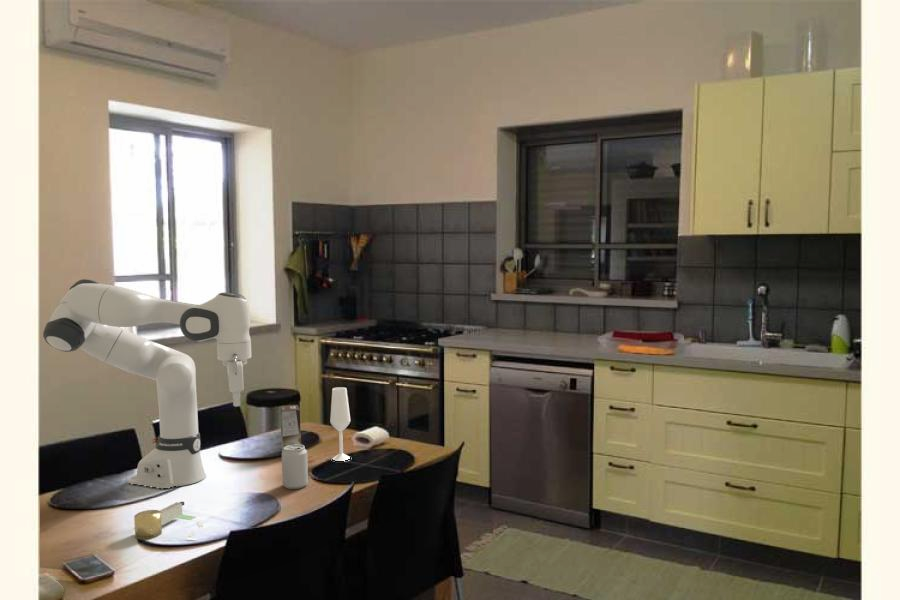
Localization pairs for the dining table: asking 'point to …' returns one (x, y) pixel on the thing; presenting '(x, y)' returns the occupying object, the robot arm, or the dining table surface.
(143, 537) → the yellow cylinder with handle
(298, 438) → the coffee box
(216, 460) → the dining table surface
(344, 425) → the champagne flute
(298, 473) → the can
